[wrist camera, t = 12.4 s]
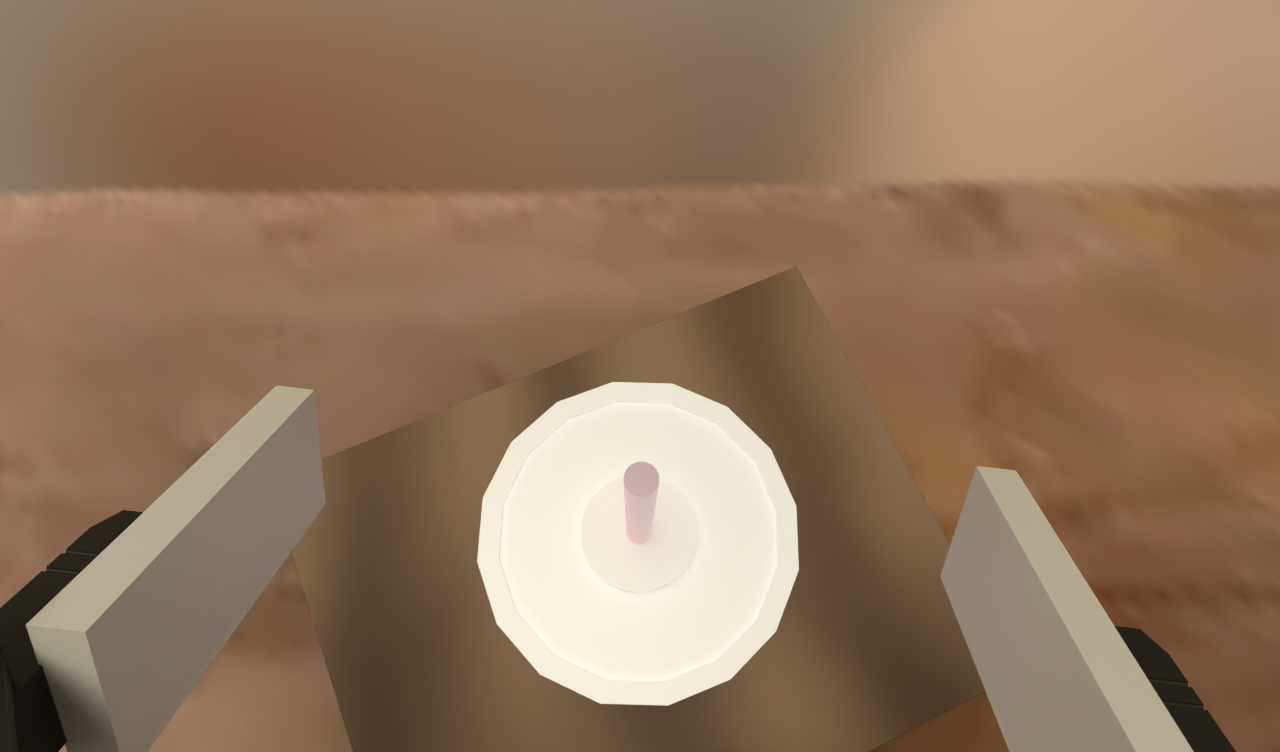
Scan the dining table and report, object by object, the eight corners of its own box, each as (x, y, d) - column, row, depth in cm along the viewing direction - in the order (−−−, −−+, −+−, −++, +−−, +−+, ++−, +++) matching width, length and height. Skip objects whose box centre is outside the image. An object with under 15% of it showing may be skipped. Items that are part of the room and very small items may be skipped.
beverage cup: (494, 543, 24) (324, 408, 11) (667, 437, 25) (705, 195, 12) (602, 732, 22) (557, 848, 9) (782, 610, 23) (975, 553, 10)
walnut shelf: (770, 322, 32) (796, 266, 27) (953, 667, 28) (1020, 673, 23) (327, 506, 29) (269, 480, 24) (460, 915, 25) (422, 978, 21)
